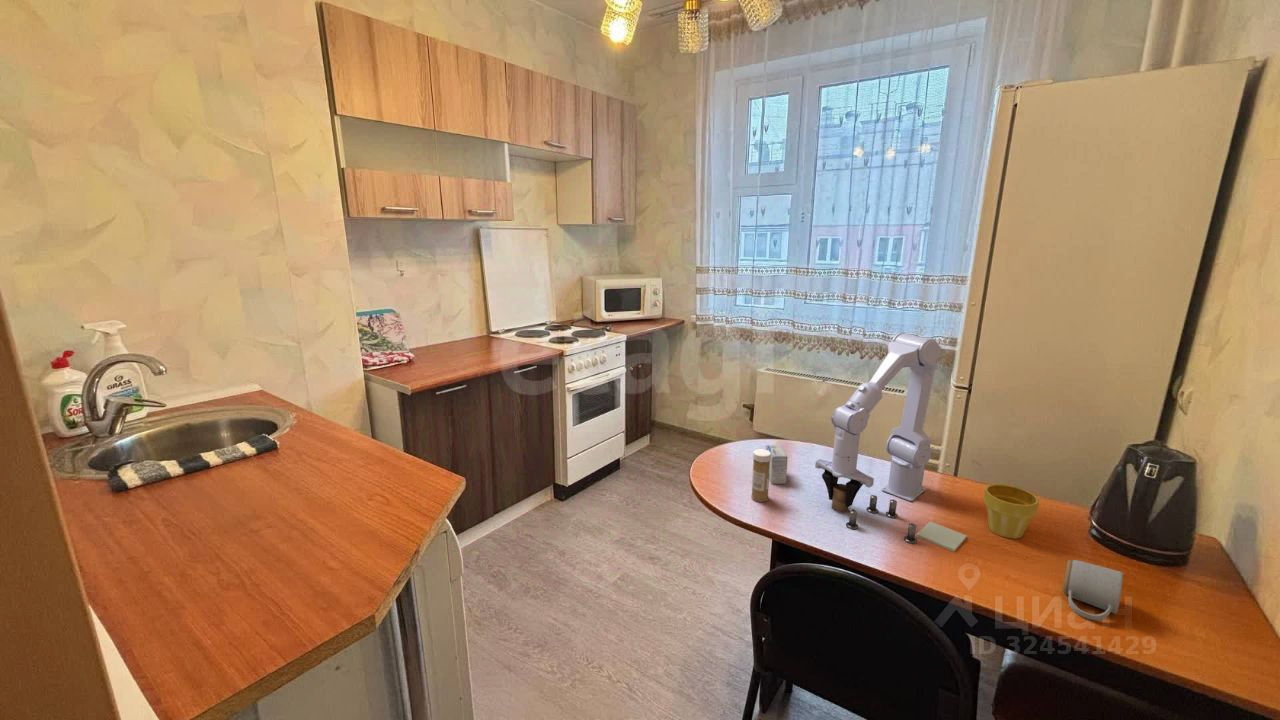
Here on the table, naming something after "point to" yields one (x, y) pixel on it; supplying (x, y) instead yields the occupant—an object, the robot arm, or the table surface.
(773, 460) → the medicine box
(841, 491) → the walnut peg
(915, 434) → the robot arm
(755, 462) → the sprinkles bottle
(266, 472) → the table surface
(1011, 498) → the plant pot
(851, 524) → the slalom posts
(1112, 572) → the ceramic mug
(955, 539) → the pad
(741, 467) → the table surface
